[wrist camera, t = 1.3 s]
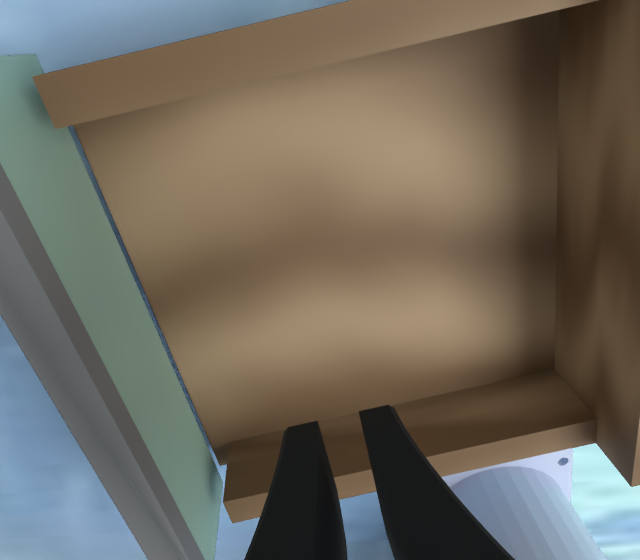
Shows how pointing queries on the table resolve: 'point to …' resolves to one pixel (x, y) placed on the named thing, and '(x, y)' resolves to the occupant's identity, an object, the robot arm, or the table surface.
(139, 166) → the cart bed
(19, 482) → the table surface
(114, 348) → the green board
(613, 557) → the table surface
